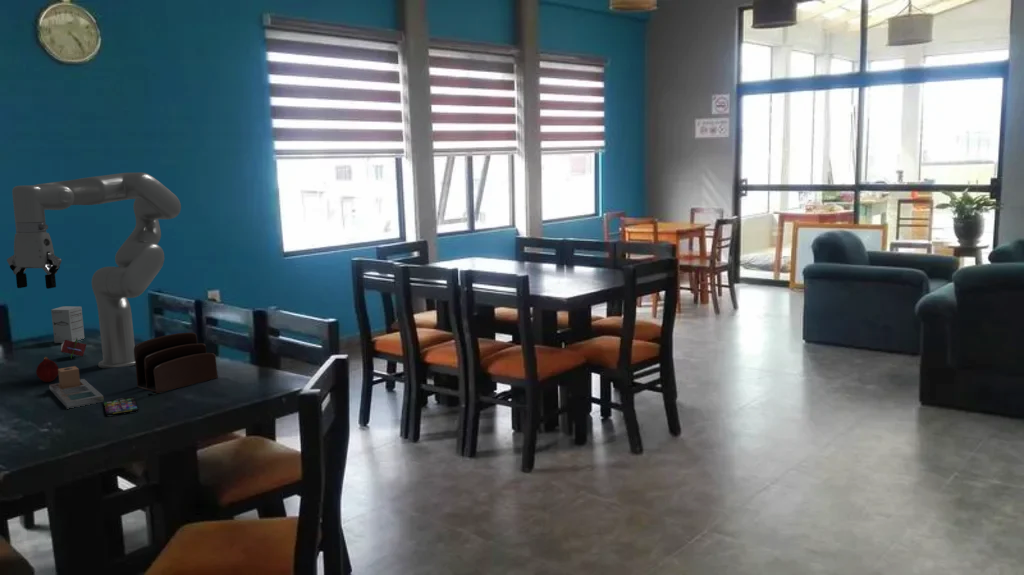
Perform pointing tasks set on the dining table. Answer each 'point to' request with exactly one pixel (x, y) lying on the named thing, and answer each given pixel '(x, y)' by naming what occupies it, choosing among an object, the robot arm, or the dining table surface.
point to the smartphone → (121, 406)
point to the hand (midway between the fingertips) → (36, 287)
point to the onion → (47, 370)
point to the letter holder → (173, 362)
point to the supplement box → (67, 323)
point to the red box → (73, 348)
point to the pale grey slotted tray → (77, 394)
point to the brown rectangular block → (69, 377)
